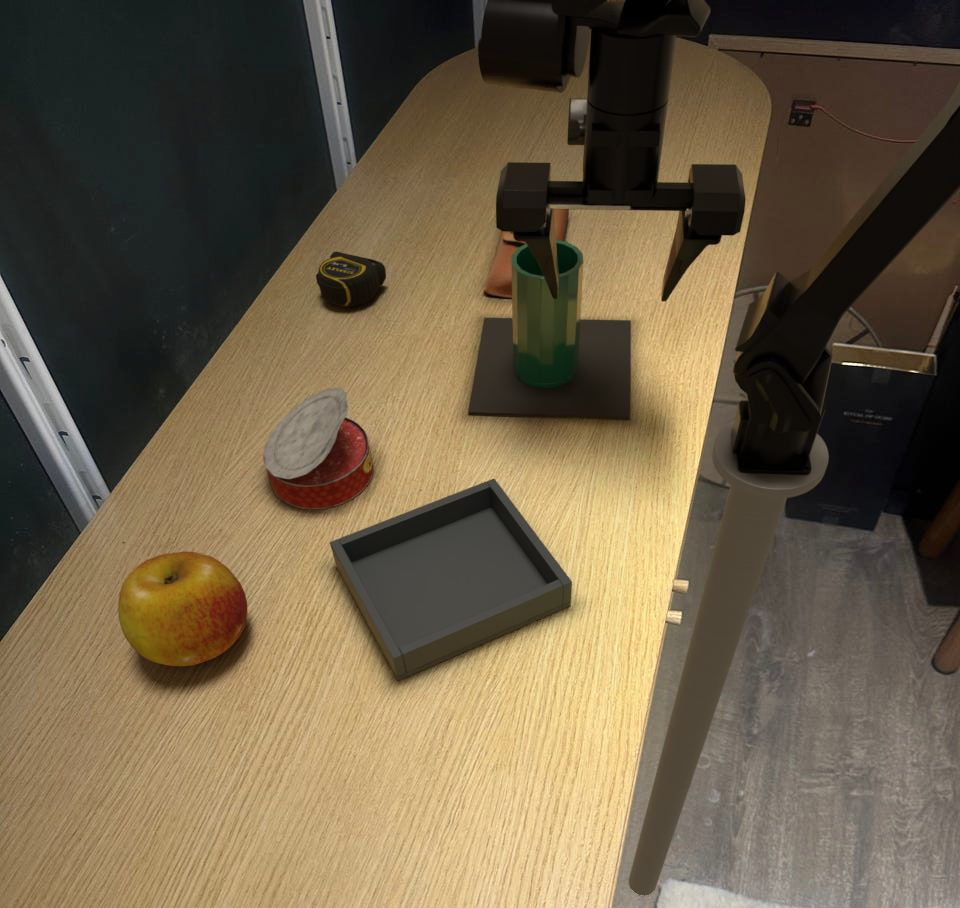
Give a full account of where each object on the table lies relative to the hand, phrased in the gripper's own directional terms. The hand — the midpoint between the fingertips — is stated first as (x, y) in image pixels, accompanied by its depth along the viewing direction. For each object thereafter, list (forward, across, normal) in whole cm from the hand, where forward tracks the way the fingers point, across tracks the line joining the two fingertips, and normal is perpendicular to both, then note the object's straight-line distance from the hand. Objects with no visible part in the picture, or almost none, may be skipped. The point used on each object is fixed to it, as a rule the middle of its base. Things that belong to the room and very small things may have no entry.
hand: (609, 297), depth 73 cm
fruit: (+14, +32, +29) cm, 45 cm away
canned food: (+14, +26, +9) cm, 31 cm away
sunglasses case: (+14, +9, -29) cm, 33 cm away
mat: (+13, +5, -8) cm, 16 cm away
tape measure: (+14, +29, -21) cm, 38 cm away
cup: (+13, +6, -7) cm, 16 cm away
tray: (+13, +12, +22) cm, 28 cm away
